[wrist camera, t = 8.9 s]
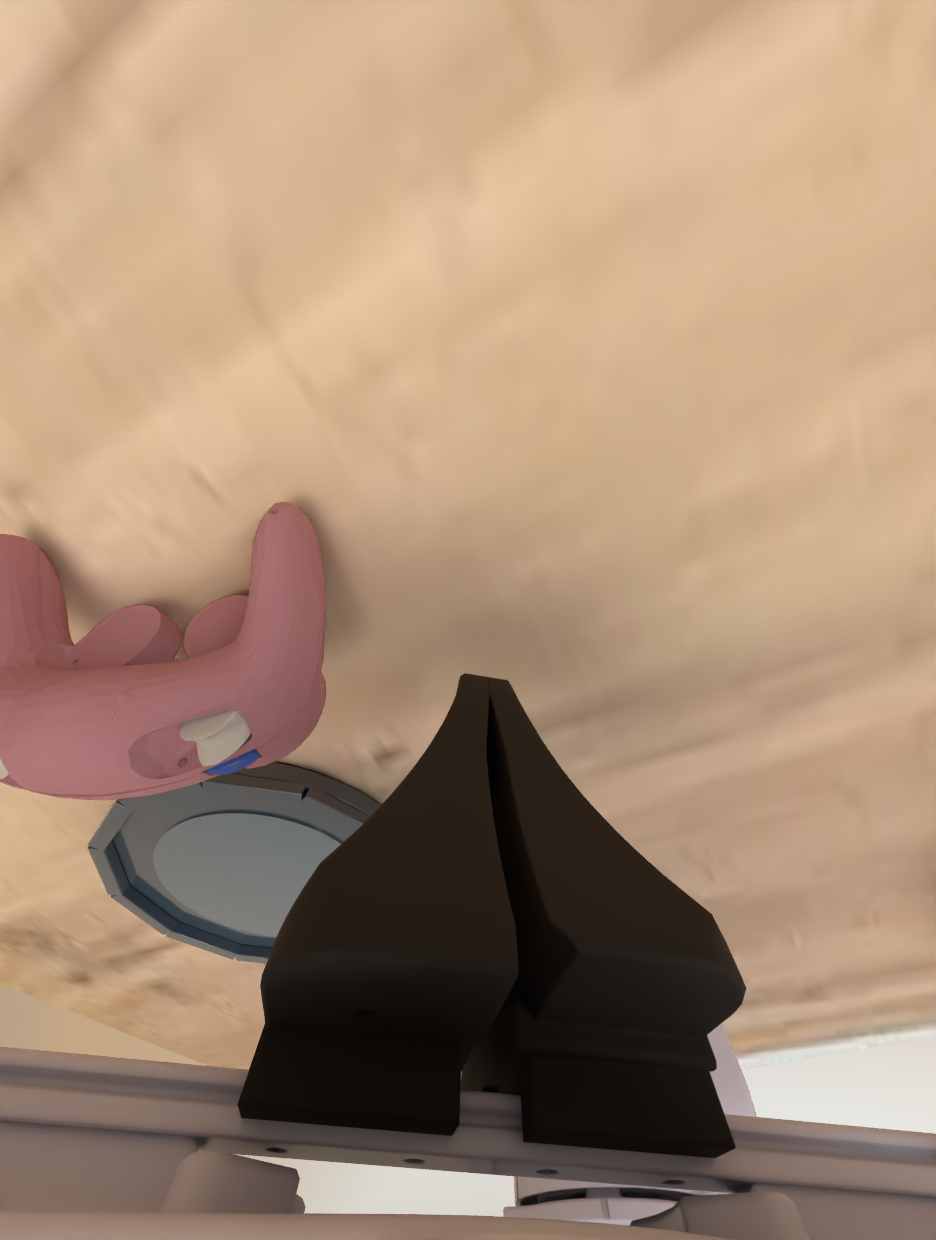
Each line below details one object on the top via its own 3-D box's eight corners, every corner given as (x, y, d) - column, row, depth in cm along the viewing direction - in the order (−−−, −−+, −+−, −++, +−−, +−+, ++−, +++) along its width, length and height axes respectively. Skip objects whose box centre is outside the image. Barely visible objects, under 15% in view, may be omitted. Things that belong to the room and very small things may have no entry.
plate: (446, 785, 17) (444, 813, 16) (407, 952, 24) (403, 979, 23) (75, 732, 16) (44, 757, 15) (148, 922, 23) (131, 949, 22)
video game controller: (108, 614, 15) (-14, 820, 11) (-27, 521, 11) (-284, 780, 7) (364, 589, 14) (333, 799, 10) (309, 481, 11) (228, 743, 7)
